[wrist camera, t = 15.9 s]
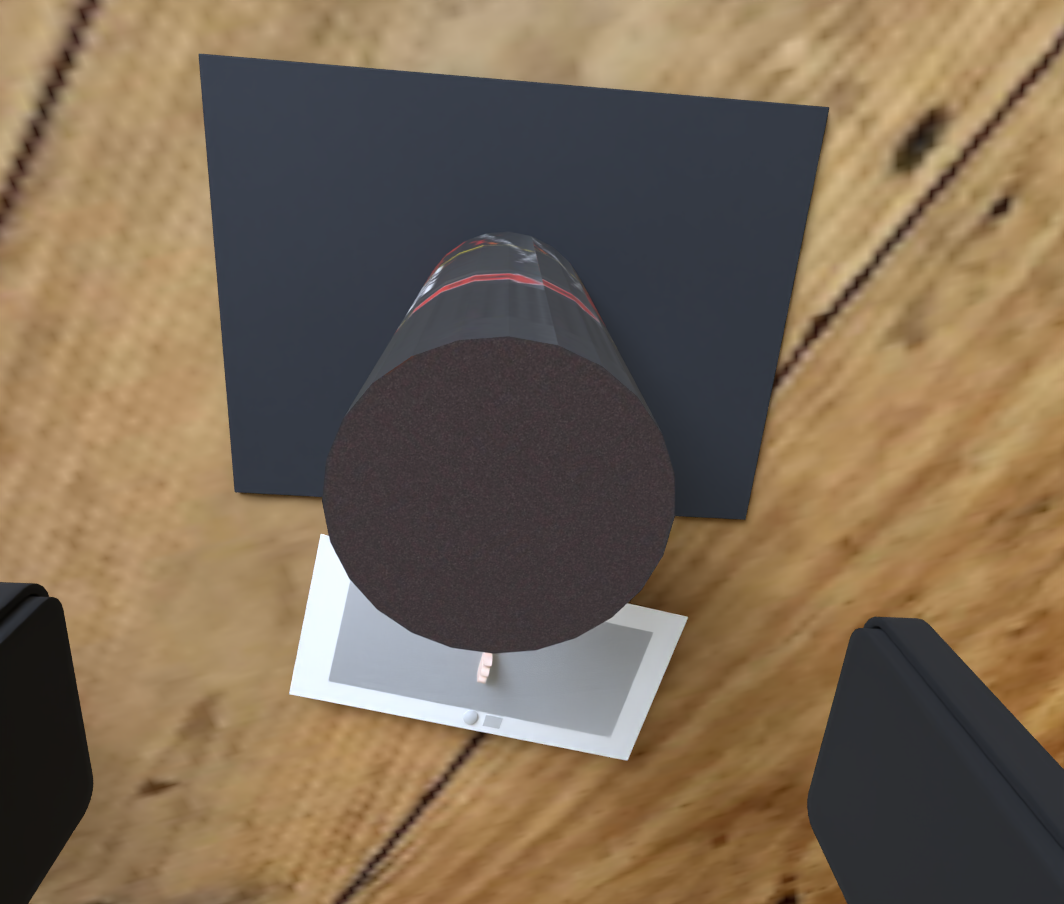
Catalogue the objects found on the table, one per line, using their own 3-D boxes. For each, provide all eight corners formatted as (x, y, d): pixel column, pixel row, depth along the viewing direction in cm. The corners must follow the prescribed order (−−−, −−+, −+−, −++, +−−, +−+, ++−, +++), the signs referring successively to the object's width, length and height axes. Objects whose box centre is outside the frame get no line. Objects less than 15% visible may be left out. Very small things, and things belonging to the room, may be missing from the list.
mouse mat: (236, 489, 29) (234, 492, 29) (201, 54, 23) (198, 53, 23) (743, 516, 30) (745, 520, 30) (826, 108, 25) (829, 107, 24)
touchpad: (327, 521, 30) (314, 548, 28) (682, 601, 32) (694, 633, 30) (296, 676, 32) (281, 711, 30) (623, 742, 34) (631, 779, 32)
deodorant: (447, 207, 25) (370, 283, 11) (613, 263, 26) (732, 401, 12) (401, 370, 27) (289, 606, 13) (556, 417, 28) (603, 686, 14)
